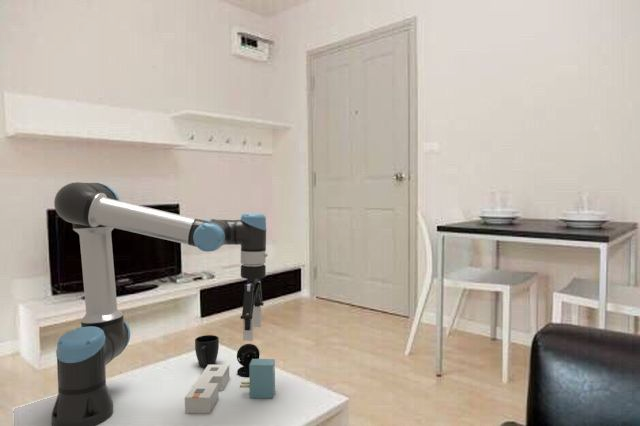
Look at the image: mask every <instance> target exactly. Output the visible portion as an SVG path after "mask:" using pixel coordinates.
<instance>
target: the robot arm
mask: <svg viewBox="0 0 640 426" xmlns="http://www.w3.org/2000/svg"><path fill="white" fill-rule="evenodd" d="M53 200H54V202H53V203H54V209H55V212H56V213H57V215H58V216H59V217H60V218H61V219H62V220H63V221H65V222H67V223H71V224H72V230H73V231H74V232H75V233H77V234H78V236H79V245H80V255H81V256H80V257H81V268H82V269H81V270H82V280H83V292H84V293H83V294H84V304H85V314H84V315H83V317H82V318H81V319H80V324H81V325H80V326H81V327H78V328H75V329H70V330H68V331H67V332H65V333H64V334H62V335H61V336H60V337H59V339H58V340H57V344H56V352H55V355H56V365H57V366H56V367H57V371H56V372H57V388H58V389H57V396H56V398H55V399H56V400H55V402H54V405H53V409H52V412H51V425H52V426H96V425H99V424H101V423H102V422H105V421H106V420H108V419H109V418H110V417H112V415H113V414H114V400H113V398H112V395H111V393H110V390H109V388H108V386H107V380H106V379H107V378H106V377H107V376H106V375H107V373H106V370H107V369H106V367H107V365H108V364H109V363H110V362H112V360H114V359H115V358H117V357H119V356H120V355H121V354H122V353H123V352H124V350H125V349H126V347H127V346H128V344H129V342H130V339H131V330H130V327H129V324H128V323H127V322H126V321H125V319H124V313H123V312H122V311H120V310H119V308H118V304H117V303H118V302H117V289H116V288H117V287H116V278H115V276H116V275H115V266H114V265H115V264H114V253H113V252H114V251H113V242H112V241H113V239H112V231H113V230H114V229H116V230H122V231H127V232H131V233H136V234H140V235H144V236H148V237H153V238H157V239H161V240H164V241H165V240H167V241H171V242H175V243H179V244H184V245H188V246H192V247H195V248H197V249H199V250H200V251H203V252H206V253H207V252H208V253H209V252H214V251H217V250H219V249H220V248H221V247H223V246H224V245H225V246H226V245H227V246H228V245H229V246H230V245H233V246H234V245H236V246H240V264H241V265H240V277H241V278H242V279H246V280H247V282H246V283H244V291H243V292H244V293H243V303H242V311H241V312H242V313H241V315H240V319H241V320H243V321H242V323H243V325H242V327H243V328H242V330H243V331H242V332H243V333H242V336H243V338H242V339H243V340H242V341H245V342H253V341H254V328H261V327H262V306H264V305H265V304H264V302H263V294H262V293H263V291H262V281H261V280H262V279H264V278H266V274H267V273H266V271H267V269H266V264H265V263H266V258H267V257H268V253H267V251H266V250H267V249H266V248H267V220H266V219H267V218H266V215H264V214H263V213H243V214H241V216H240V219H236V220H235V219H233V220H232V219H214V218H213V219H212V218H210V219H198V218H196V217H190V216H187V215H182V214H178V213H174V212H169V211H165V210H160V209H156V208H152V207H148V206H144V205H138V204H134V203H130V202H126V201H122V200H121V199H120V197H119V195H118V193H117V192H116V191H115V190H114V188H112V187H111V186H109V185H107V184H104V183H99V182H79V181H77V182H70V183H67V184H66V185H64V186H62V187H61V188H60V189H58V191H57V192H56V194H55V197H54V199H53Z"/></svg>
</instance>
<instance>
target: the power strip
mask: <svg viewBox="0 0 640 426" xmlns="http://www.w3.org/2000/svg"><path fill="white" fill-rule="evenodd" d="M229 380H230V364H215V365H208V366H207V367H206V368H204V370H203V372H202V373H200V376H199V377H198V378H197V380H196V381H195V382H194V384H193V385H192V387H191V388H190V389H189V391H188V392H187V393H186V395H185V396H184V413H185V414H210V413H211V412H212V410H213V408H214V407H215V405H216V403H217V401H218V400H219V391H224V389H225V387H226V385H227V384H228V381H229ZM217 399H218V400H217Z"/></svg>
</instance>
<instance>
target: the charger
mask: <svg viewBox="0 0 640 426" xmlns="http://www.w3.org/2000/svg"><path fill="white" fill-rule="evenodd" d="M248 378H249V381H241V382H240V385H239V388H242V389H244V388H249V399H274V396H275V392H276V359H275V358H259V359H252V361H251V363H250V365H249V377H248Z"/></svg>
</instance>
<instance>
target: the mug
mask: <svg viewBox="0 0 640 426" xmlns="http://www.w3.org/2000/svg"><path fill="white" fill-rule="evenodd" d="M219 339H220V338H219V336H217V335H214V334H209V335H208V334H205V335H201V336H198V337H196V338H195V339H194V349H195V355H196V358H197V359H196V360H197V362H198V365H199V367H201V368H204V369H206V367H207V366H208V365H216V363H217V358H218V355H219V348H220V347H219V346H220V344H219V343H220V342H219V341H220V340H219Z"/></svg>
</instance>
